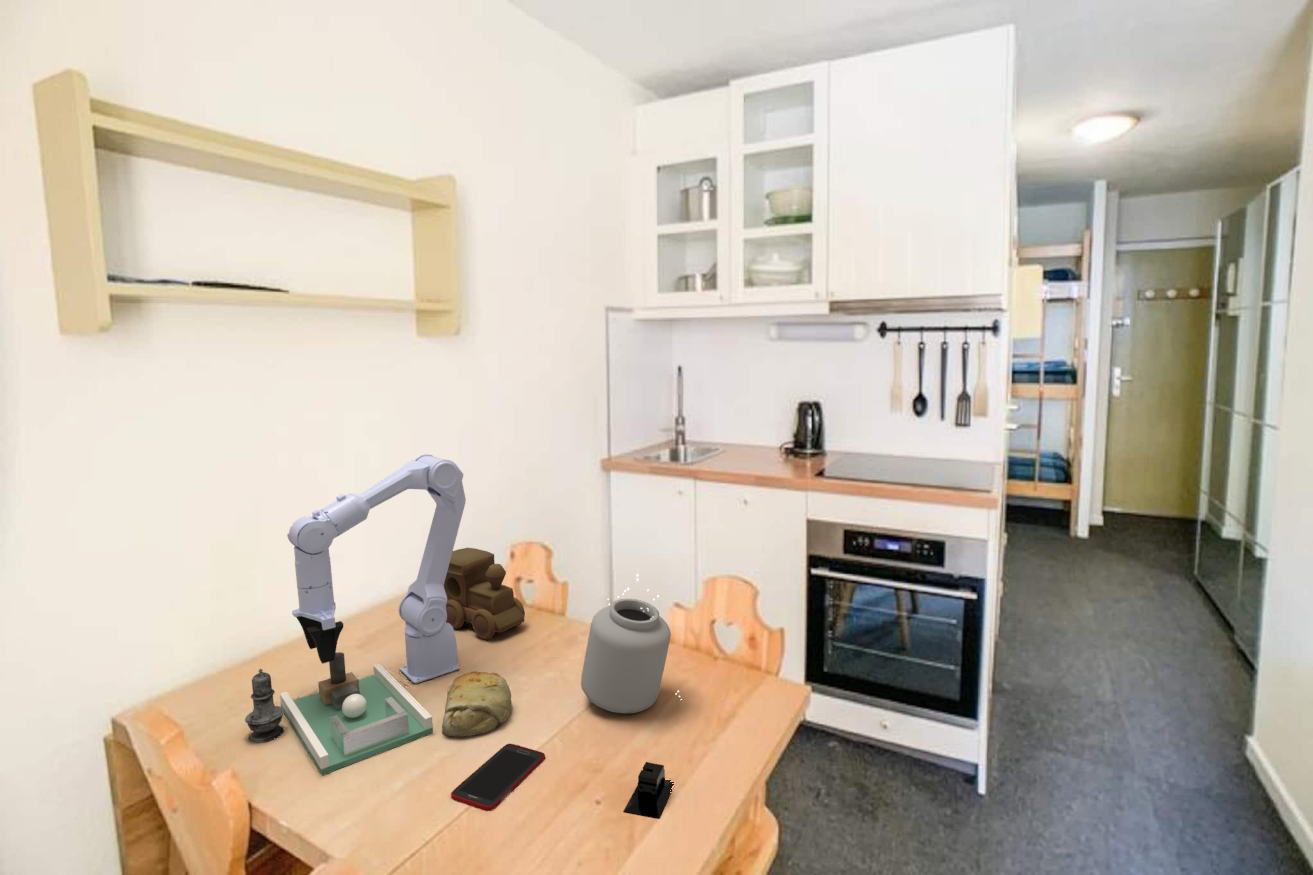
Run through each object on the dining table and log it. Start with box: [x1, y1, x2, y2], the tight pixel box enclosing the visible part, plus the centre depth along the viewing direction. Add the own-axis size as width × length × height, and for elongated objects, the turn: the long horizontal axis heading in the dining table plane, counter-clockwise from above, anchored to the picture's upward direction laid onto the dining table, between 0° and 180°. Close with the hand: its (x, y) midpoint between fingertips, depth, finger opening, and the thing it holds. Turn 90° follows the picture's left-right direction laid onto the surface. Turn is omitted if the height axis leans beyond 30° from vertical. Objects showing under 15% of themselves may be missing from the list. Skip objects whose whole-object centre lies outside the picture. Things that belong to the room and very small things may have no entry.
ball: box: [342, 694, 367, 718], centre depth 125 cm, size 4×4×4 cm
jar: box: [580, 573, 683, 714], centre depth 129 cm, size 19×15×25 cm
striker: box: [317, 651, 360, 710], centre depth 130 cm, size 6×7×8 cm
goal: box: [329, 697, 409, 757], centre depth 119 cm, size 10×8×4 cm
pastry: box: [441, 670, 513, 737], centre depth 125 cm, size 14×12×8 cm
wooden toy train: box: [444, 547, 526, 641], centre depth 164 cm, size 20×11×17 cm, turn 55°
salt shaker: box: [244, 668, 285, 744], centre depth 120 cm, size 6×6×12 cm
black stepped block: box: [622, 761, 674, 820], centre depth 104 cm, size 12×7×5 cm, turn 162°
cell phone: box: [450, 743, 546, 812], centre depth 109 cm, size 8×15×1 cm, turn 156°
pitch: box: [279, 663, 434, 776], centre depth 125 cm, size 18×26×3 cm
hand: (321, 654), depth 129 cm, fingers open, 7 cm apart
